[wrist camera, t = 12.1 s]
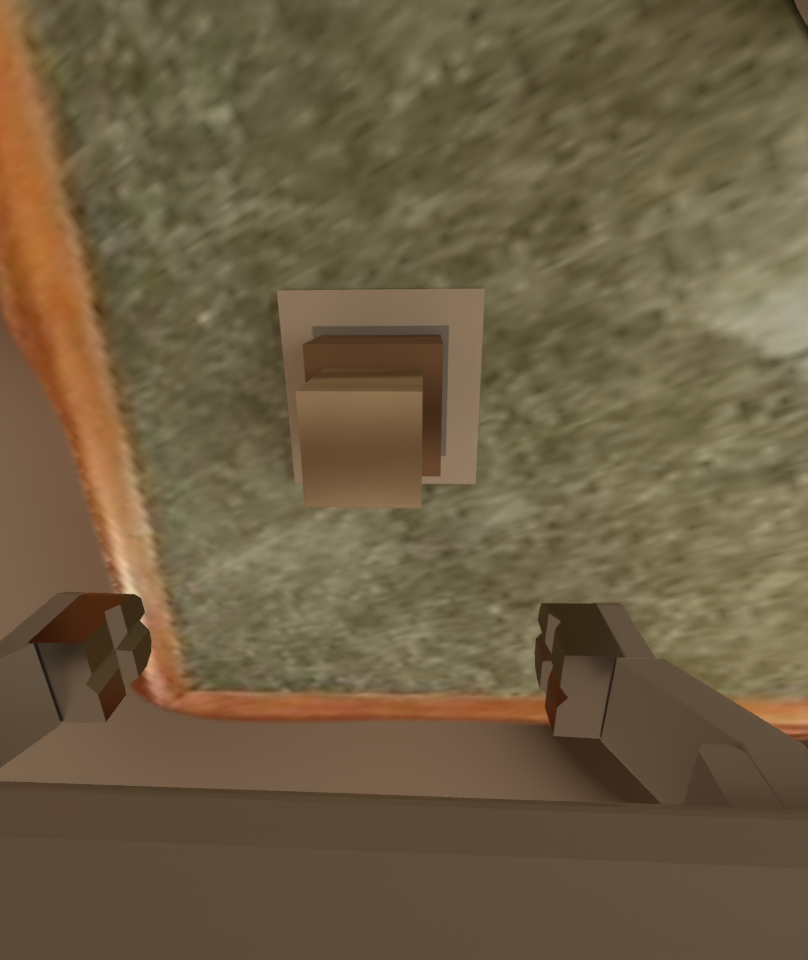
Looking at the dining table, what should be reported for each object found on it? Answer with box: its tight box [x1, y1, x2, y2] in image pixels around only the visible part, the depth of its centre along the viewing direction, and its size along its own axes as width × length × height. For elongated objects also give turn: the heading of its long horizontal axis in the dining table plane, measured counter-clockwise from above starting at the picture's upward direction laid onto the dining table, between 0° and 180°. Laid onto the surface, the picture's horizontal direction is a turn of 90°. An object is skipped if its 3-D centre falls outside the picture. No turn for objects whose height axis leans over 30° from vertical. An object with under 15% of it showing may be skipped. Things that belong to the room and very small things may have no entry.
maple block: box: [295, 368, 423, 508], centre depth 23 cm, size 5×5×6 cm
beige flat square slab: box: [277, 289, 485, 484], centre depth 31 cm, size 12×12×1 cm
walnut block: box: [302, 335, 443, 476], centre depth 28 cm, size 7×7×5 cm
